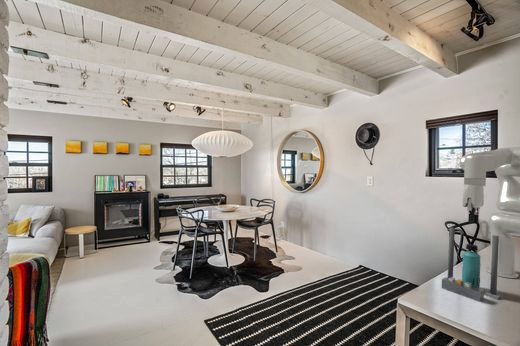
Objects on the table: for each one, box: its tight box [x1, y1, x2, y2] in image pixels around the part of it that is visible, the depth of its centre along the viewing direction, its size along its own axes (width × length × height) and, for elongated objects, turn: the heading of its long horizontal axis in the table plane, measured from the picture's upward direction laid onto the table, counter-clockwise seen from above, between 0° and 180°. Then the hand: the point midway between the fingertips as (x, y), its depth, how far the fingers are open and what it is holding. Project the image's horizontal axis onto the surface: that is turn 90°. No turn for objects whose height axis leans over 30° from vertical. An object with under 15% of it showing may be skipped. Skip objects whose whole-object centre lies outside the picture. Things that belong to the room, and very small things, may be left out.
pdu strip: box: [441, 276, 485, 303], centre depth 113 cm, size 4×14×5 cm, turn 32°
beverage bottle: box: [461, 243, 482, 288], centre depth 117 cm, size 6×7×20 cm
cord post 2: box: [484, 235, 502, 300], centre depth 111 cm, size 4×4×26 cm
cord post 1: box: [446, 227, 457, 281], centre depth 124 cm, size 4×4×26 cm
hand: (473, 222), depth 117 cm, fingers closed
